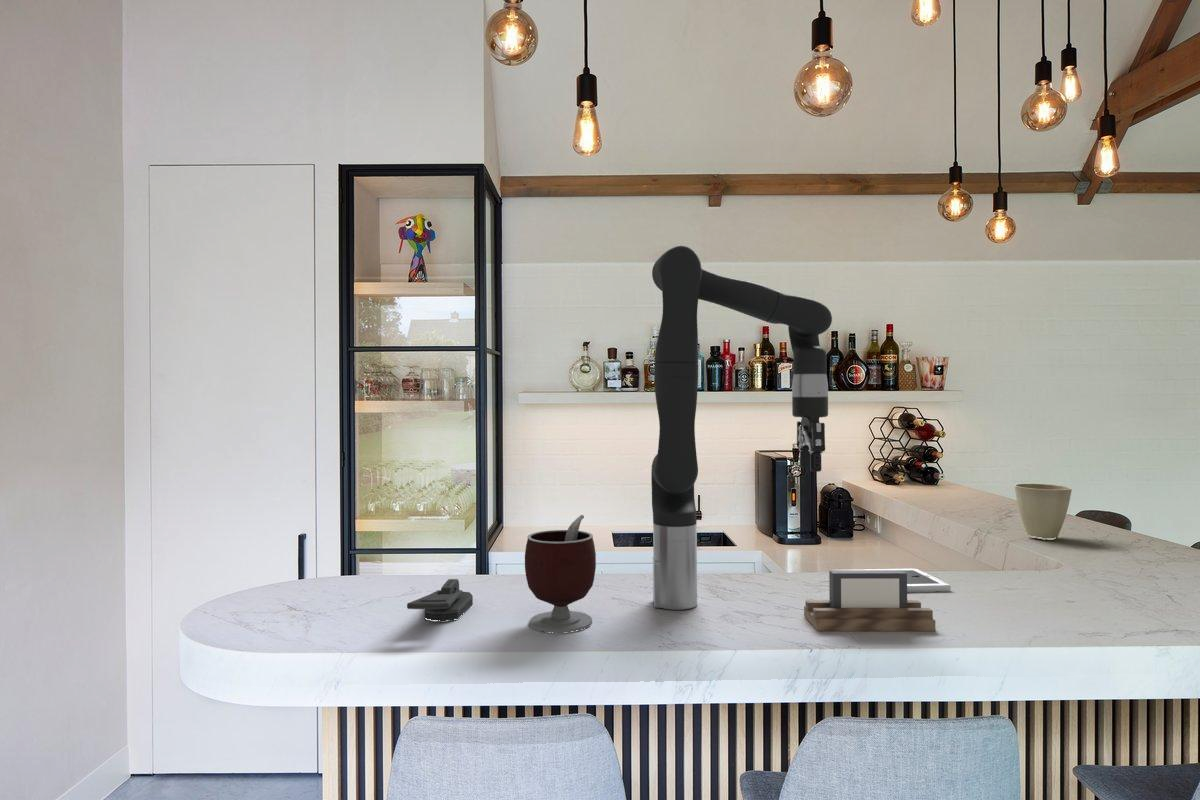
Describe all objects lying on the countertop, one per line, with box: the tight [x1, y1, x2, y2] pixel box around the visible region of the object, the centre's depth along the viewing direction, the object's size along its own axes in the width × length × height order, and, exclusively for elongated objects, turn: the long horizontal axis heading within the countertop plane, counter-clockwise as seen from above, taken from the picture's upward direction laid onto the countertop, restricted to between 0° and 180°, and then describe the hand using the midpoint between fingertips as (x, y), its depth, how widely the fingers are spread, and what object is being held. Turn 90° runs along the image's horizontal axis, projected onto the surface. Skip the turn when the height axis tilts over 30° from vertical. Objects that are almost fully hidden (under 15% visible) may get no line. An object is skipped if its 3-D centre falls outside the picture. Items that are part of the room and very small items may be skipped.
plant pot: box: [1014, 483, 1072, 538], centre depth 219 cm, size 15×15×16 cm
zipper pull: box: [406, 578, 474, 621], centre depth 143 cm, size 9×7×25 cm
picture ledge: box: [803, 599, 936, 632], centre depth 138 cm, size 22×9×4 cm, turn 89°
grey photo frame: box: [828, 569, 908, 608], centre depth 138 cm, size 14×2×8 cm, turn 88°
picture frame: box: [864, 568, 952, 593], centre depth 168 cm, size 16×3×21 cm
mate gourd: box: [524, 514, 597, 634], centre depth 140 cm, size 16×14×20 cm
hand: (810, 469), depth 156 cm, fingers open, 8 cm apart
